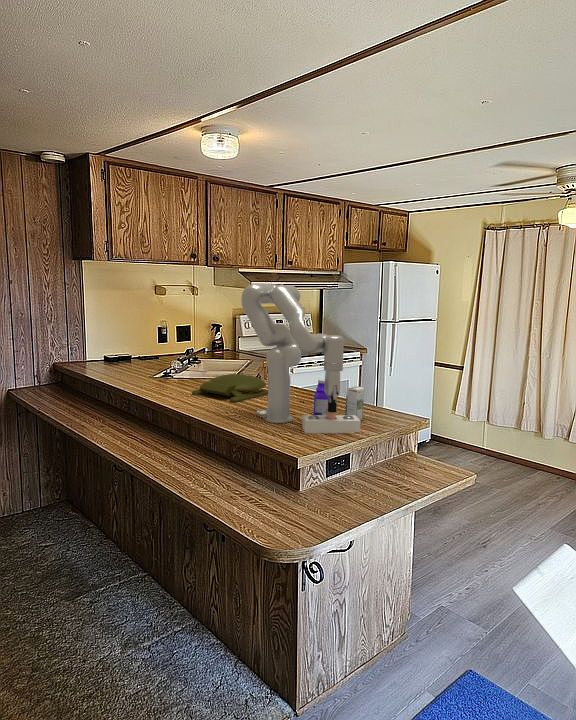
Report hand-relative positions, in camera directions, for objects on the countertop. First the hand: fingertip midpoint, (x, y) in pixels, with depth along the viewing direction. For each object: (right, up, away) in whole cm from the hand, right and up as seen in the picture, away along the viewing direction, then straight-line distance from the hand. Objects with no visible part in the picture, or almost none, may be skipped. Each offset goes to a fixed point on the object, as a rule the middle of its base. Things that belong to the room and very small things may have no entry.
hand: (332, 411), depth 215 cm
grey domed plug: (+7, -7, +2) cm, 10 cm away
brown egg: (0, -5, +1) cm, 5 cm away
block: (0, -8, +1) cm, 8 cm away
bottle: (-3, -5, +19) cm, 20 cm away
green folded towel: (-46, +3, +67) cm, 82 cm away
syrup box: (+11, -6, +18) cm, 22 cm away
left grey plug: (-7, -7, 0) cm, 10 cm away
